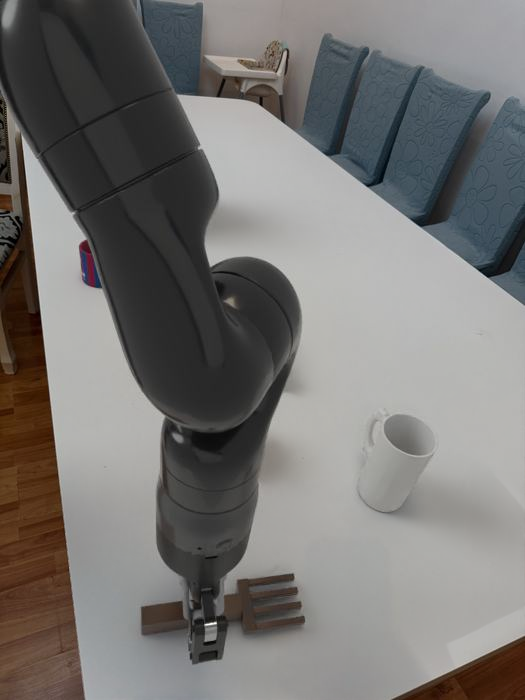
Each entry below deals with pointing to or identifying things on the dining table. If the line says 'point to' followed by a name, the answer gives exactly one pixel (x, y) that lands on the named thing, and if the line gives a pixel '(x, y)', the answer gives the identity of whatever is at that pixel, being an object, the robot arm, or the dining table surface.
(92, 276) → the cup
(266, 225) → the dining table surface
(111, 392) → the dining table surface
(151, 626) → the fork
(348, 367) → the dining table surface
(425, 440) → the mug
